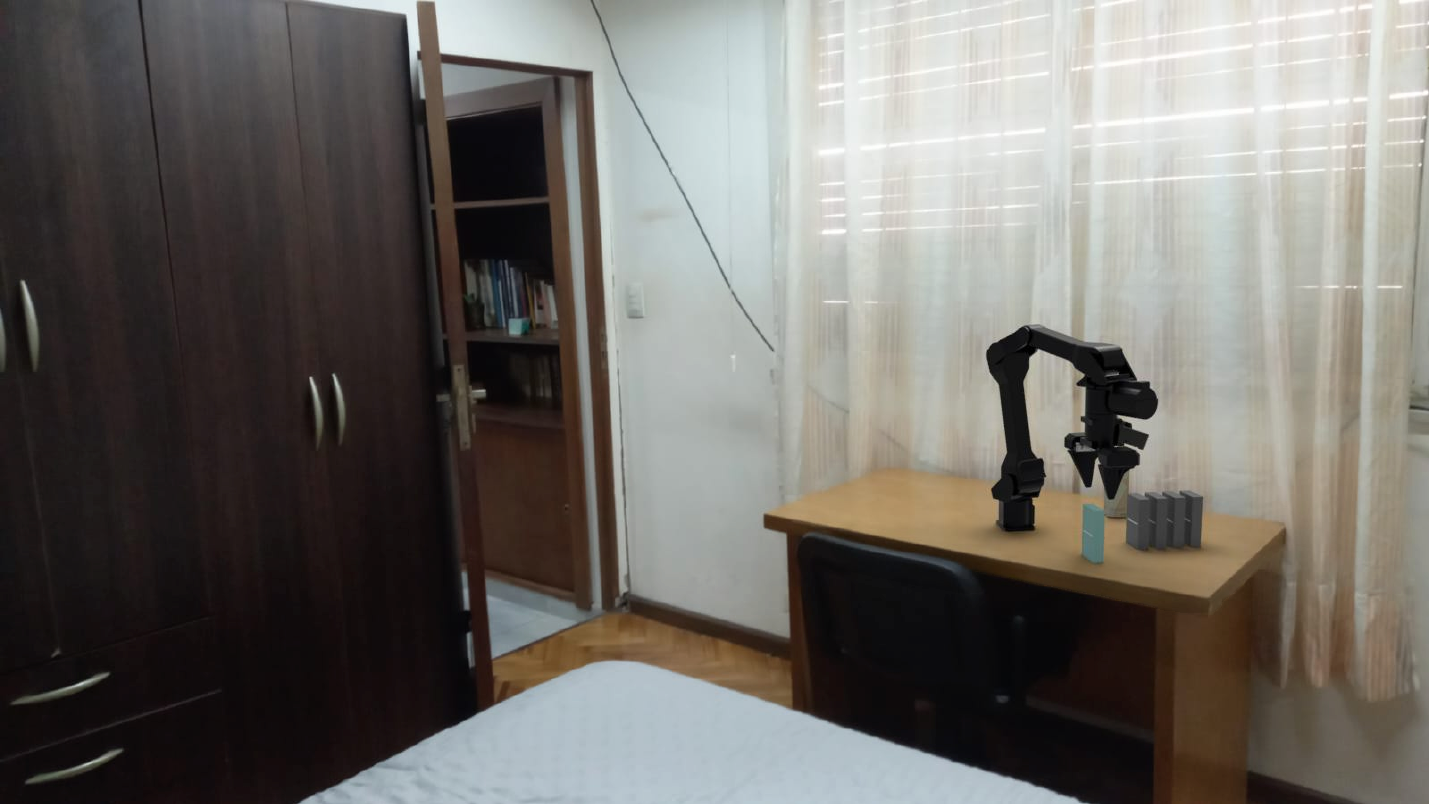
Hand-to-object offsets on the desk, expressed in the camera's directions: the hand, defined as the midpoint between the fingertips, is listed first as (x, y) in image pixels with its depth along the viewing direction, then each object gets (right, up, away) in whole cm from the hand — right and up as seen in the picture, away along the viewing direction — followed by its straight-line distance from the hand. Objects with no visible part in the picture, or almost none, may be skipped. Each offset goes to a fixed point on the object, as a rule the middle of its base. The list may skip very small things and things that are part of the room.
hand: (1099, 493), depth 181 cm
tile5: (+21, -11, +7) cm, 24 cm away
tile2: (+10, -11, +7) cm, 16 cm away
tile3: (+14, -11, +7) cm, 19 cm away
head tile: (-1, -12, +1) cm, 12 cm away
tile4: (+17, -11, +7) cm, 21 cm away
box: (+15, -8, +28) cm, 32 cm away
